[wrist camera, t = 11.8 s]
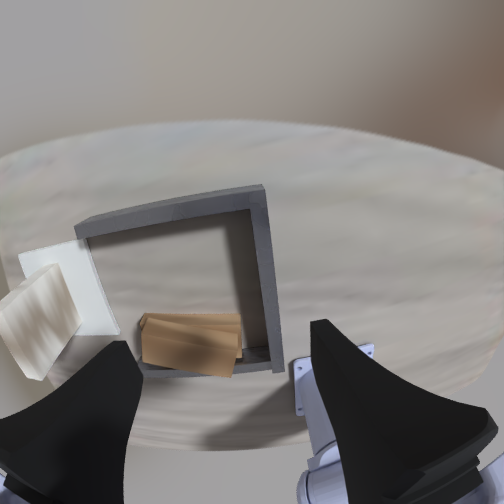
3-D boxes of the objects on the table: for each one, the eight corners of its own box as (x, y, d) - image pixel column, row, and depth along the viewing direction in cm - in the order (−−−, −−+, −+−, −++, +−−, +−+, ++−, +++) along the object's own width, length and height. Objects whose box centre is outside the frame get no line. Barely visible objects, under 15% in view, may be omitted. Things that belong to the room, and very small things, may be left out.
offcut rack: (281, 352, 23) (284, 371, 21) (145, 363, 23) (138, 381, 21) (261, 184, 18) (265, 189, 15) (90, 216, 18) (73, 226, 15)
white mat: (120, 331, 22) (118, 334, 21) (54, 332, 22) (52, 334, 21) (85, 237, 18) (82, 239, 18) (20, 253, 18) (17, 255, 18)
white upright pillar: (82, 322, 21) (42, 380, 13) (67, 322, 21) (27, 377, 13) (58, 262, 18) (1, 311, 11) (43, 265, 18) (-12, 311, 11)
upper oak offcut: (231, 360, 21) (231, 377, 19) (148, 345, 20) (142, 361, 18) (237, 333, 20) (237, 350, 18) (148, 317, 19) (141, 333, 17)
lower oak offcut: (241, 342, 23) (241, 357, 21) (154, 341, 23) (149, 355, 21) (240, 310, 22) (240, 324, 20) (146, 310, 21) (139, 323, 20)
